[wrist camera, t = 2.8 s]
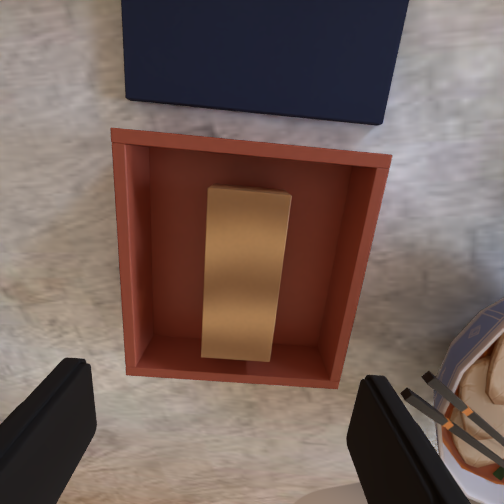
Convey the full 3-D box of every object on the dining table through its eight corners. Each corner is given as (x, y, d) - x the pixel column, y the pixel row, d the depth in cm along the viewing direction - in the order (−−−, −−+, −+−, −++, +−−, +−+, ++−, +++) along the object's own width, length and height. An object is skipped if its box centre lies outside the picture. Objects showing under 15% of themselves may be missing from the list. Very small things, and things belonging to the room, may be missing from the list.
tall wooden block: (216, 181, 21) (207, 187, 16) (282, 187, 21) (292, 195, 16) (210, 319, 25) (200, 357, 20) (265, 323, 25) (269, 362, 20)
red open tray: (141, 134, 21) (110, 127, 16) (361, 156, 21) (393, 155, 17) (147, 337, 26) (125, 375, 21) (322, 350, 27) (338, 389, 22)
